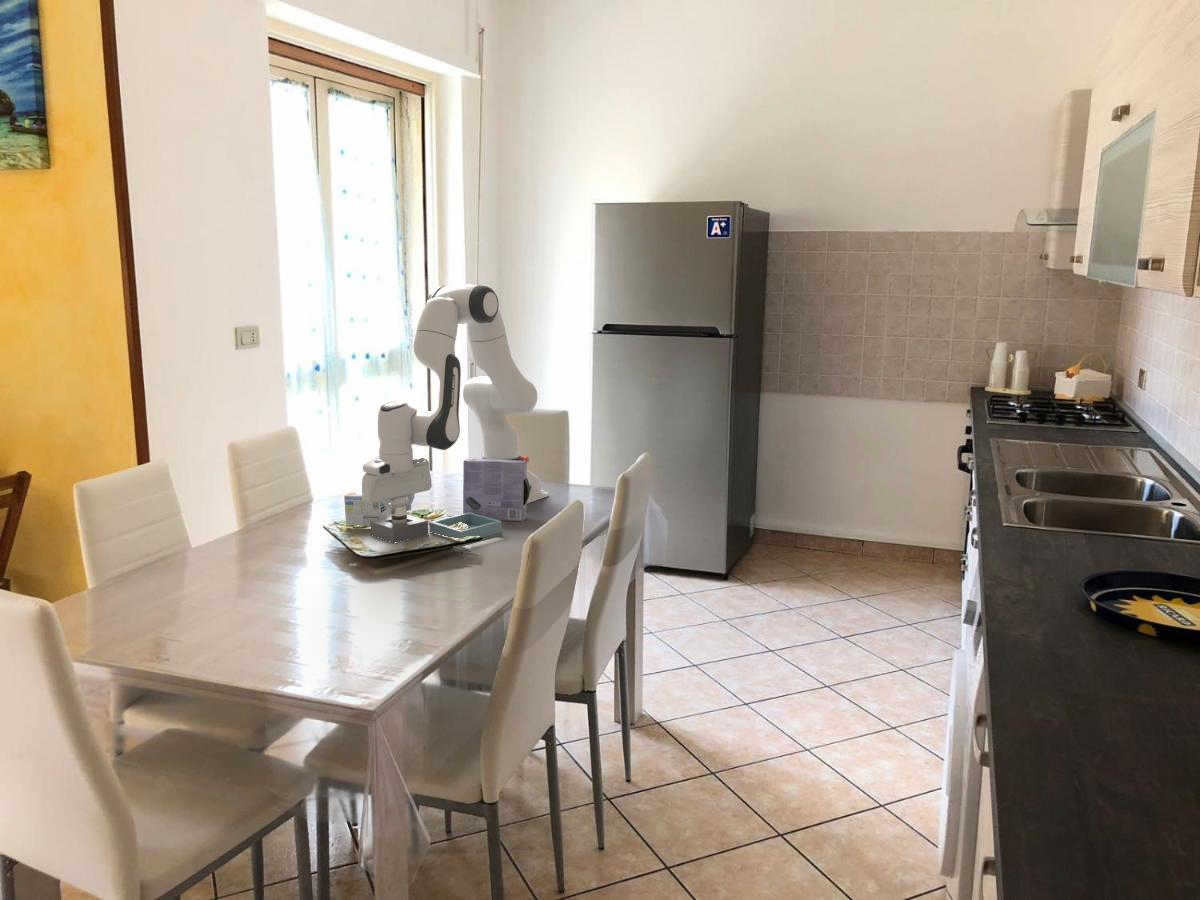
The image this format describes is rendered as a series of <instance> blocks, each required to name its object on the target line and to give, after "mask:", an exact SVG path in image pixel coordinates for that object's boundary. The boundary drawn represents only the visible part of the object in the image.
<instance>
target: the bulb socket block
mask: <svg viewBox="0 0 1200 900" xmlns="http://www.w3.org/2000/svg"><path fill="white" fill-rule="evenodd" d="M370 525H371V530H370V536H371V535H373V536H372V537H374V536H375V538H377V537H379V538H382V539H384V540H383V541H385V540H387V541H386V542H388V541H391V542H393V543H392V544H394V543H395V542H399V543H401V542H400V541H403V542H405V541H404V540H407V539H411V540H413V539H412V538H415V539H418V538H417V537H419V538H422V537H426V536H428V535H429V521H428V520H427V519H425V518H421V517H418V516H414V515H411V514H408V513H407V522H406V523H402V524H398V525H395V524H392V516H391V515H390V516H389V517H386V518H382V519H378V520H373V521H370ZM427 534H428V535H427ZM425 535H426V536H425ZM421 536H422V537H421ZM379 538H378V539H379ZM382 539H381V540H382ZM407 541H408V540H407ZM391 542H390V543H391ZM395 544H396V543H395Z"/></svg>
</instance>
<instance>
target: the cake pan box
mask: <svg viewBox="0 0 1200 900" xmlns="http://www.w3.org/2000/svg"><path fill="white" fill-rule="evenodd" d="M462 462H463V466H462V467H463V468H462V469H463V475H462V476H463V477H462V478H463V479H462V483H463V484H462V487H463V488H462V494H463V495H462V501H463V502H462V514H464V513H468V512H471V513H474V514H478V515H481V516H485V517H488V518H492V519H495V520H499V521H505V522H508V521H509V522H524V521H526V519H527V504H526V503H527V500H528V498H529V494H530V486H529V482H528V479H527V476H526V471H527V467H528V466H527V464H528V463H527V461H516V460H494V459H482V458H466V459H465V458H464V460H463V461H462Z"/></svg>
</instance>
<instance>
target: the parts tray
mask: <svg viewBox="0 0 1200 900" xmlns="http://www.w3.org/2000/svg"><path fill="white" fill-rule="evenodd" d="M458 522H462V523H465V524H467V525H468V526H469V527H470V528H469V529H465V530H459V529H456V528H453V527H449V525H453V524H456V523H458ZM428 530H429V533H430V532H432V533H436V534H440V535H444V536H448V537H454V538H463V537H466V536H477V535H478V536H480V537H481V538H484V537H488V536H492V535H495V536H492V537H488V538H485V539H482V540H481V538H480V540H478V541H473V542H471V543H470V542H469V543H467V544H463V545H461V547H465V546H469V545H471V544H475V543H479V542H482V541H486V540H490V539H493V538H498V537H500V536H502V534H503V524H502V521H499V520H495V519H492V518H488V517H485V516H481V515H478V514H474V513H471V512H468V513H464V514H463V513H461V514H456V515H452V516H448V517H444V518H441V519H437V520H433V521H428ZM432 533H431V534H432ZM496 534H500V535H496Z"/></svg>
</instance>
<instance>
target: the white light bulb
mask: <svg viewBox="0 0 1200 900" xmlns="http://www.w3.org/2000/svg"><path fill="white" fill-rule="evenodd" d="M389 504H390V506H391V507H393V508H395V510H394V512H395V514H392V515H390V517H391V516H392V524H395V525H398V524H402V523H406V522H407V514H408V513H407V511H406V505H407V496H401V497H397V498H392V499H391V503H389Z"/></svg>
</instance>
